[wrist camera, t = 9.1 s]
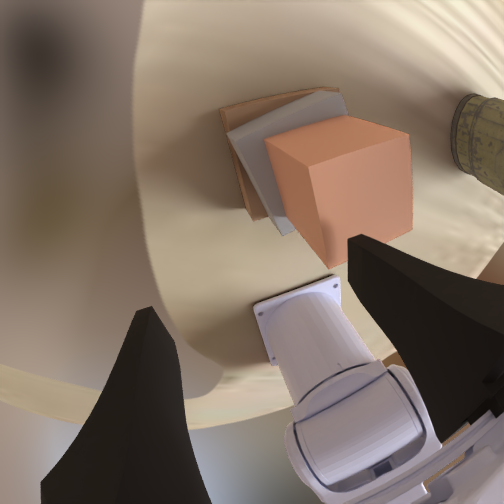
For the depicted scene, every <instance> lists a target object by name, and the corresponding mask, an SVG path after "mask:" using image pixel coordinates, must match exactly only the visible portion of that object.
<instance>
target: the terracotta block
mask: <svg viewBox="0 0 504 504" xmlns="http://www.w3.org/2000/svg"><path fill="white" fill-rule="evenodd" d="M264 142H265V145H266V149H267V152H268V155H269V159H270V162H271V165H272V169H273V172H274V175H275V179H276V182H277V186H278V189H279V192H280V196H281V199H282V203H283V206H284V210H285V214H286V217H287V218H288V220H289V221H290V222H291V223H292V224H293V226H294V227H295V228H296V229H297V230H298V232H299V233H300V234H301V235H302V237H303V238H304V239H305V240H306V242H307V243H308V244H309V245H310V247H311V248H312V249H313V250H314V252H315V253H316V254H317V255H318V257H319V258H320V259H321V260H322V262H323V263H324V264H325V265H326V267H327V268H328V269H331V268H333V267H336V266H338V265H340V264H342V263H344V262H346V261H348V248H347V239H348V238H351V237H354V236H356V235H359V234H364V235H366V236H369V237H371V238H373V239H376V240H378V241H380V242H382V243H387V242H389V241H391V240H393V239H395V238H397V237H399V236H401V235H403V234H405V233H407V232H409V231H411V230H412V229H413V187H412V164H411V149H410V138H409V134H407V133H404V132H401V131H398V130H395V129H392V128H389V127H385V126H382V125H379V124H376V123H372V122H369V121H365V120H362V119H358V118H355V117H351V116H347V115H341V116H337V117H333V118H330V119H326V120H322V121H319V122H316V123H312V124H309V125H305V126H302V127H299V128H296V129H292V130H289V131H286V132H283V133H280V134H277V135H274V136H271V137H268V138H265V139H264Z"/></svg>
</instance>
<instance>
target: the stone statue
mask: <svg viewBox="0 0 504 504" xmlns="http://www.w3.org/2000/svg"><path fill="white" fill-rule="evenodd" d="M451 149H452V153H453V157H454V161H455V162H456V164H457V166H458V167H459V169H461V170H462V171H464V172H465V173H467V174H469V175H472V176H474V177H476V178H477V180H479V181H480V182H481V183H483V184H485V185H486V186H488V187H490V188H492V189H493V190H495V191H497V192H499V193H500V194H502V195H504V100H501V99H498V98H495V97H494V98H486V97H483V96H481V95H478V94H470V95H467V96H466V97H465V98H464V99H463V100H462V101H461V102H460V104H459V106H458V108H457V109H456V112H455V115H454V119H453V122H452V130H451Z"/></svg>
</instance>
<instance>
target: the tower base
mask: <svg viewBox="0 0 504 504" xmlns="http://www.w3.org/2000/svg"><path fill="white" fill-rule="evenodd" d="M319 90H320V91H329V92H337V93H340V91H339V88H331V87H319V88H313V89H306V90H301V91H295V92H290V93H284V94H279V95H274V96H270V97H265V98H261V99H256V100H252V101H248V102H244V103H240V104H236V105H232V106H228V107H225V108H221V109H219V111H220V114H221V118H222V122H223V125H224V129H225V133H228V132H230V131H232V130H234V129H236V128H237V127H239V126H241V125H243V124H245V123H247V122H249V121H252V120H254V119H256V118H258V117H260V116H262V115H264V114H266V113H268V112H270V111H273V110H275V109H277V108H279V107H281V106H284V105H286V104H288V103H290V102H293V101H295V100H297V99H300V98H302V97H304V96H307V95H309V94H312V93H314V92H317V91H319ZM226 136H227V134H226ZM227 140H228V144H229V147H230V151H231V155H232V158H233V162H234V166H235V170H236V173H237V177H238V181H239V184H240V188H241V192H242V196H243V199H244V203H245V207H246V209H247V211H248V213H249V215H250V216H251V218H252V220H253V221H256V220H259V219H262V218H265V217H268V214H267V212H266V210H265V208H264V206H263V204H262V202H261V200H260V198H259V196H258V194H257V192H256V190H255V188H254V186H253V184H252V182H251V180H250V178H249V176H248V174H247V172H246V170H245V168H244V167H243V165H242V163H241V161H240V159H239V157H238V155H237V153H236V151H235V149H234V147H233V145H232V144H231V142H230V140H229V138H228V136H227Z"/></svg>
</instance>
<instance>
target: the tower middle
mask: <svg viewBox="0 0 504 504" xmlns="http://www.w3.org/2000/svg"><path fill="white" fill-rule="evenodd" d="M341 115H347V116H349V114H348V111H347V108H346V105H345V102H344V99H343V96H342V94H341V93H337V92H329V91H320V90H319V91H317V92H314V93H312V94H309V95H307V96H304V97H302V98H300V99H297V100H295V101H293V102H290V103H288V104H286V105H284V106H281V107H279V108H277V109H275V110H273V111H270V112H268V113H266V114H264V115H262V116H260V117H258V118H256V119H254V120H252V121H249V122H247V123H245V124H243V125H241V126H239V127H237V128H236V129H234V130H232V131H230V132H228V133H226V134H227V136H228V138H229V140H230V142H231V144H232V145H233V147H234V149H235V151H236V153H237V155H238V157H239V159H240V161H241V163H242V165H243V167H244V168H245V170H246V172H247V174H248V176H249V178H250V180H251V182H252V184H253V186H254V188H255V190H256V192H257V194H258V196H259V198H260V200H261V202H262V204H263V206H264V208H265V210H266V212H267V214H268V216H269V218H270V219H271V221H272V222H273V223H274V225H275V226H276V228H277V229H278V230H279V232H280V233H281V235H282V236H284V235H286V234H288V233H290V232H292V231H294V230H295V229H296V228H295V227H294V226H293V224H292V223H291V222H290V221H289V220H288V218H287V217H286V214H285V210H284V206H283V203H282V199H281V196H280V192H279V189H278V186H277V182H276V179H275V175H274V172H273V169H272V165H271V162H270V159H269V155H268V152H267V149H266V145H265V142H264V139H265V138H268V137H271V136H274V135H277V134H280V133H283V132H286V131H289V130H292V129H296V128H299V127H302V126H305V125H309V124H312V123H316V122H319V121H322V120H326V119H330V118H333V117H337V116H341Z"/></svg>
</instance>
